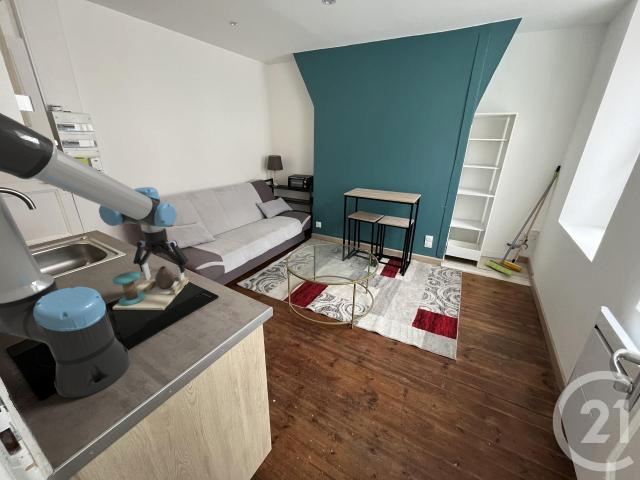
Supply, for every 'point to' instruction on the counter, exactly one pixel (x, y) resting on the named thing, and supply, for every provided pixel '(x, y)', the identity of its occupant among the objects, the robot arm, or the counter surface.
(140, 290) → the jig board
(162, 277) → the vase
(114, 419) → the counter surface
